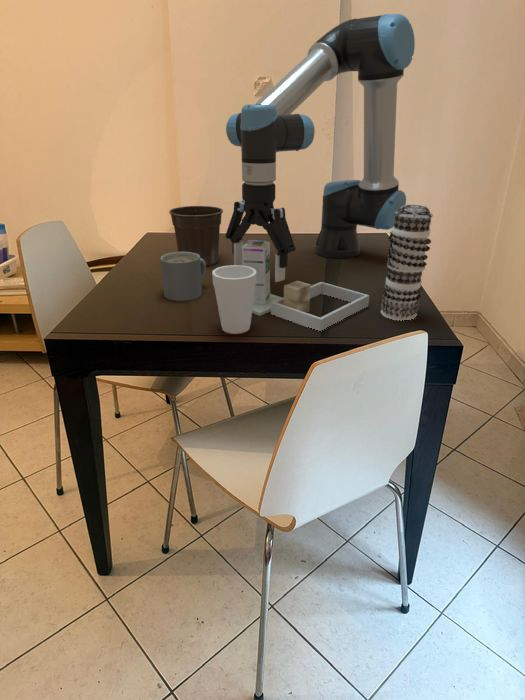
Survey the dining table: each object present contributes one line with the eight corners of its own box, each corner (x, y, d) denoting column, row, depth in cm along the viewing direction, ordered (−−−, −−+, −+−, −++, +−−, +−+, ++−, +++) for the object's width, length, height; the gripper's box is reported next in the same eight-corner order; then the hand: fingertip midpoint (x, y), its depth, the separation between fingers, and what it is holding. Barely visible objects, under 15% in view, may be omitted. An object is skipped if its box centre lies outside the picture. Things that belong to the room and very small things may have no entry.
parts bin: (320, 292, 124) (321, 281, 123) (368, 306, 115) (369, 295, 114) (270, 314, 111) (270, 302, 110) (320, 332, 102) (321, 319, 101)
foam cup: (215, 319, 108) (212, 265, 102) (254, 318, 109) (254, 264, 103) (215, 337, 100) (212, 280, 94) (258, 336, 100) (257, 278, 94)
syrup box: (265, 305, 114) (266, 246, 107) (242, 303, 115) (241, 245, 108) (270, 296, 119) (271, 240, 112) (248, 294, 120) (247, 239, 113)
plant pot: (191, 252, 158) (188, 203, 150) (233, 258, 152) (232, 207, 144) (163, 265, 145) (158, 212, 137) (207, 272, 139) (204, 217, 131)
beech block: (296, 307, 115) (297, 280, 112) (309, 311, 112) (310, 284, 109) (283, 313, 112) (283, 285, 108) (296, 318, 109) (297, 289, 106)
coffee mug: (177, 304, 116) (173, 265, 112) (157, 293, 123) (153, 256, 118) (220, 291, 124) (218, 255, 120) (199, 282, 131) (196, 247, 126)
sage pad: (257, 292, 124) (257, 289, 123) (289, 303, 117) (289, 300, 117) (227, 303, 117) (227, 300, 116) (260, 315, 110) (260, 312, 110)
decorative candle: (371, 314, 111) (384, 207, 99) (390, 303, 117) (404, 201, 105) (407, 325, 106) (425, 213, 94) (424, 313, 112) (444, 206, 100)
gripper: (208, 178, 108) (212, 266, 118) (291, 190, 93) (288, 290, 103) (231, 175, 113) (234, 260, 123) (313, 186, 98) (308, 281, 108)
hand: (258, 274), depth 113 cm, fingers open, 13 cm apart
